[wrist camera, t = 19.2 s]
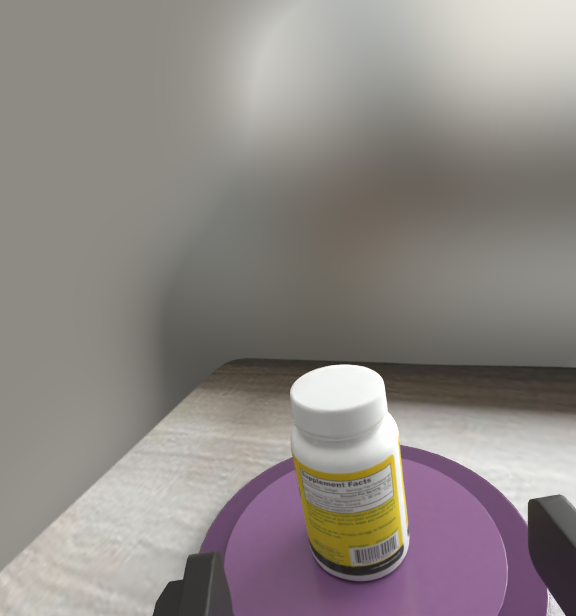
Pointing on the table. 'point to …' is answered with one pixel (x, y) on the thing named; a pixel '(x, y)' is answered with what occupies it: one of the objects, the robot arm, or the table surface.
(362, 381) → the supplement bottle
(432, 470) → the plum dish
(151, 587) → the table surface
